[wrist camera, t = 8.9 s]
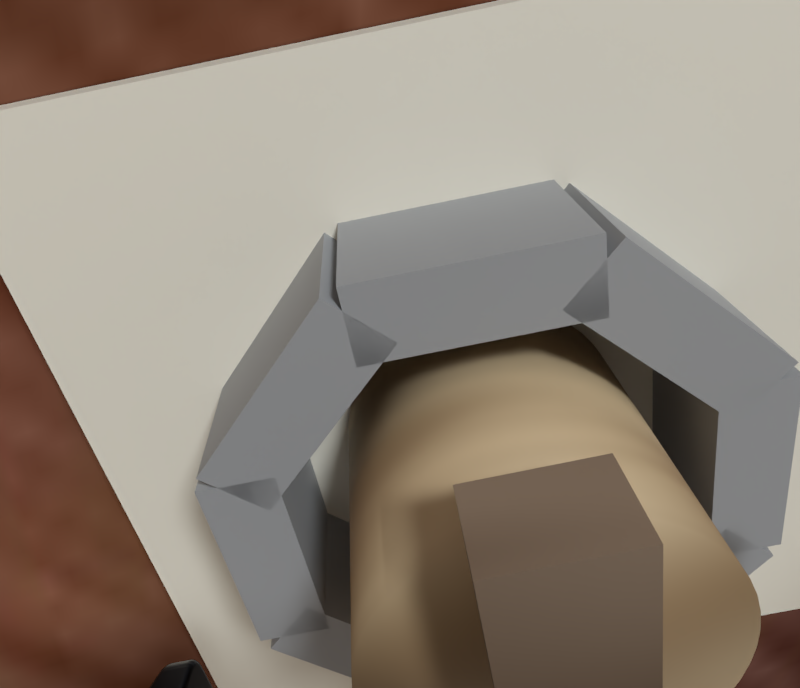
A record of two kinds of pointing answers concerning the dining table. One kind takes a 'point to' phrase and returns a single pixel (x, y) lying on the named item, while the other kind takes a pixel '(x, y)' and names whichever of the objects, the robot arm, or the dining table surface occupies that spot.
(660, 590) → the rotary grip knob
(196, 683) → the robot arm
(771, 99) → the socket board
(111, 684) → the dining table surface
